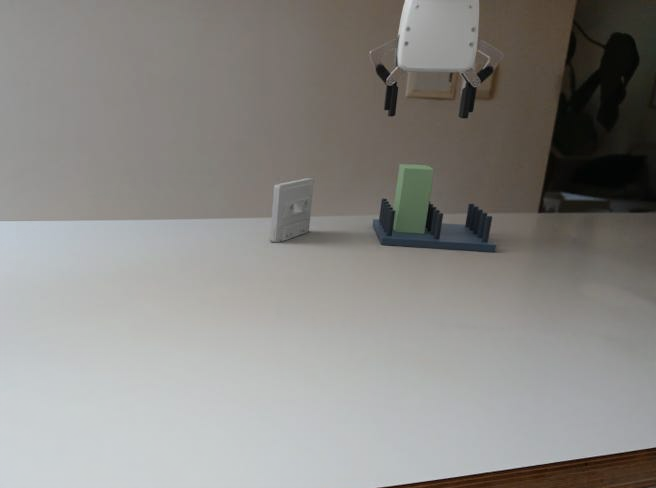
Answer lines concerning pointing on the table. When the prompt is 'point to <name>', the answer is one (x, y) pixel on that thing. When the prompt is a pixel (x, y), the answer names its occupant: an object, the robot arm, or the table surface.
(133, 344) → the table surface
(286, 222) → the cassette
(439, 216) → the rack
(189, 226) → the table surface
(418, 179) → the block
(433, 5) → the robot arm
